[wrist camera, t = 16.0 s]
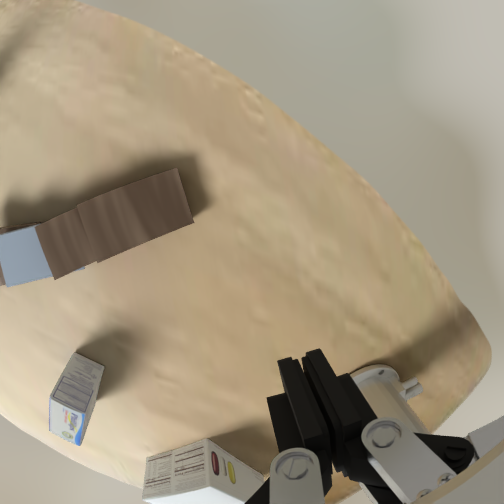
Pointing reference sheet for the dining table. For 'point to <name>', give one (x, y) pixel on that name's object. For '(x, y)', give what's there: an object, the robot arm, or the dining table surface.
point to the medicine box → (74, 398)
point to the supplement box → (199, 476)
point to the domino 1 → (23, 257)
